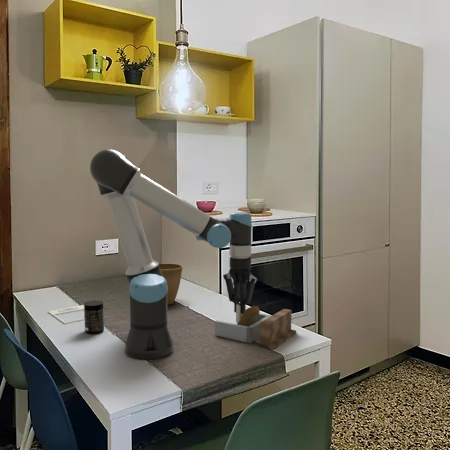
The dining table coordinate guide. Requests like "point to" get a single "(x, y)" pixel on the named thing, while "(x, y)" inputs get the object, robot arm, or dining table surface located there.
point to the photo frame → (66, 310)
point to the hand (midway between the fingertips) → (239, 321)
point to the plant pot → (171, 279)
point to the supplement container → (94, 316)
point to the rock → (249, 316)
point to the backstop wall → (276, 329)
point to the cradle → (240, 330)
